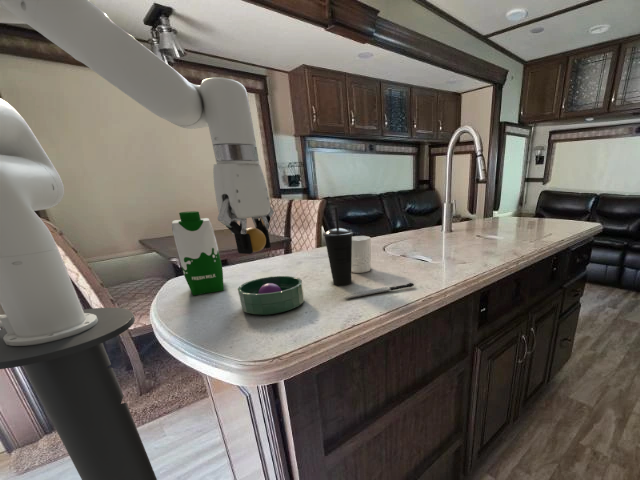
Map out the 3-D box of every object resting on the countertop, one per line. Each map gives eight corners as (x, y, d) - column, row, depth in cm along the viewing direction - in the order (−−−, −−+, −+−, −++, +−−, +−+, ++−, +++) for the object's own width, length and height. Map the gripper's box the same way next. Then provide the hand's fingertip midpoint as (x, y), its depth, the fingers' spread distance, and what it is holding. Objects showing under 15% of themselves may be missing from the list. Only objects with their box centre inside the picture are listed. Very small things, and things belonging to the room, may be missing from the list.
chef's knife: (339, 296, 77) (343, 299, 74) (339, 292, 76) (342, 295, 74) (409, 284, 84) (414, 287, 82) (409, 280, 84) (414, 282, 81)
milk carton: (188, 297, 78) (165, 214, 71) (189, 288, 85) (168, 211, 78) (228, 290, 82) (210, 211, 75) (225, 282, 89) (208, 209, 82)
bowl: (235, 320, 65) (230, 297, 63) (249, 298, 77) (245, 278, 75) (302, 313, 67) (299, 291, 65) (305, 293, 79) (303, 274, 77)
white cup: (361, 274, 94) (359, 241, 90) (341, 271, 98) (339, 239, 94) (377, 268, 100) (375, 237, 97) (357, 265, 104) (355, 235, 101)
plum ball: (262, 312, 70) (254, 298, 66) (263, 295, 73) (255, 280, 69) (285, 307, 70) (278, 293, 66) (285, 291, 73) (278, 276, 69)
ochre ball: (240, 255, 64) (234, 230, 63) (245, 250, 69) (240, 227, 67) (265, 253, 65) (261, 228, 64) (269, 248, 70) (265, 225, 68)
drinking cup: (355, 277, 91) (350, 205, 84) (357, 285, 84) (352, 208, 77) (328, 280, 90) (320, 206, 83) (328, 288, 83) (320, 209, 76)
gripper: (251, 159, 69) (266, 242, 76) (182, 155, 54) (208, 259, 61) (281, 158, 67) (293, 243, 74) (217, 152, 52) (240, 260, 59)
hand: (255, 249), depth 67 cm, fingers closed on ochre ball, 4 cm apart
